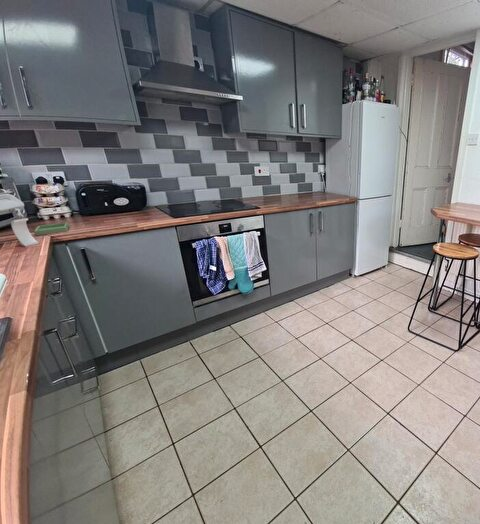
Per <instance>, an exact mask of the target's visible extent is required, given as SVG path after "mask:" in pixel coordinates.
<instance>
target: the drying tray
mask: <svg viewBox="0 0 480 524" xmlns="http://www.w3.org/2000/svg"><path fill="white" fill-rule="evenodd" d="M69 227H70V225H69V223H68V221H67V222H59V223H58V222H57V223H50V224H44V225H38V226H36V228H35V229H34V231H33V233H34V234H35V236H42V235H49V234H50V235H51V234H57V233H63V232H64V233H65V232H67V231H68V229H69Z"/></svg>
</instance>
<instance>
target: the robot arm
mask: <svg viewBox="0 0 480 524" xmlns="http://www.w3.org/2000/svg"><path fill="white" fill-rule="evenodd" d="M24 208H25V203H24V202H23V201H22V200H20V199H19V198H17V197H16V196H14V195H12V194H10V193H8V190H6V189H3V188H0V216H1V215H6V214H11V213H14V214H16V215H15V218H17V220H19V219H24V218H25V217H24V214H22V213H21V211H23V210H24Z"/></svg>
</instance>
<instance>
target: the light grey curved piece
mask: <svg viewBox="0 0 480 524" xmlns="http://www.w3.org/2000/svg"><path fill="white" fill-rule="evenodd" d="M27 221H29V218H28V217H26V218H25V217H24V218H21V219H13V220H11V221H10V226H11V229H12V231H13V234H14V235H15V237H16V239H17V240H18V242H20V243H19V244H20V246H23V247H31V246H35V245H39V244H40V242H39V241H37V240H36V239H35V238H34V237H33V235H32V233H31V232H30V230H29V228H28V224H27Z"/></svg>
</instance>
